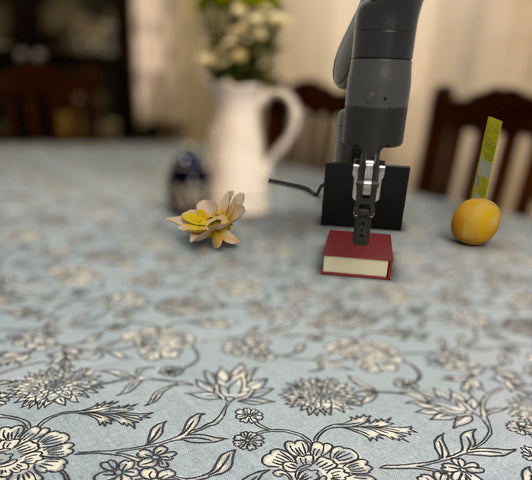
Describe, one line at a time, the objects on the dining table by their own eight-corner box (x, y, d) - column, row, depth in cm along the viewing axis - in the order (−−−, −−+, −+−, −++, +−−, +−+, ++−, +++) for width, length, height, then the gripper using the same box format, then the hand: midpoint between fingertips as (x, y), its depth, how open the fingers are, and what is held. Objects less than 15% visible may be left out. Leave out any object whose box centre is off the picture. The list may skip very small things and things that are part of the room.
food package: (481, 226, 107) (505, 121, 98) (476, 226, 108) (499, 121, 98) (471, 210, 121) (491, 116, 111) (466, 210, 121) (485, 116, 111)
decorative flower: (159, 222, 96) (169, 167, 92) (216, 231, 101) (228, 180, 97) (179, 251, 85) (192, 190, 80) (242, 260, 90) (257, 203, 85)
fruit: (488, 252, 91) (499, 207, 88) (442, 244, 95) (451, 200, 91) (498, 241, 98) (508, 198, 94) (455, 234, 102) (463, 192, 98)
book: (390, 279, 78) (393, 259, 76) (320, 273, 79) (322, 253, 78) (388, 252, 90) (390, 234, 88) (327, 247, 91) (329, 229, 90)
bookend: (400, 230, 103) (410, 167, 97) (320, 224, 105) (325, 162, 99) (399, 222, 109) (408, 162, 103) (323, 216, 111) (328, 157, 105)
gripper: (411, 106, 56) (389, 260, 64) (405, 101, 67) (387, 233, 76) (342, 103, 57) (329, 256, 65) (347, 99, 69) (335, 229, 77)
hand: (360, 243), depth 71 cm, fingers closed
